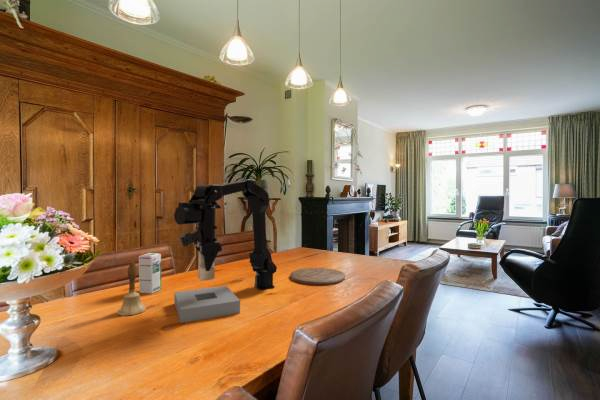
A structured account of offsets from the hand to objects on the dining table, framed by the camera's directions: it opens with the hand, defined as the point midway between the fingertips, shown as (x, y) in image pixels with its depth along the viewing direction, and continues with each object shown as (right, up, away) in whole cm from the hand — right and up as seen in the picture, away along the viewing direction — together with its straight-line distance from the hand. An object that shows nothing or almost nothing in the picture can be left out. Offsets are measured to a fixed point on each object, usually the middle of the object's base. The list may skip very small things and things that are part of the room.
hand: (206, 269), depth 104 cm
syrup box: (-27, -13, +18) cm, 35 cm away
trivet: (+39, -13, +40) cm, 57 cm away
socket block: (0, -13, 0) cm, 13 cm away
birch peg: (0, -3, 0) cm, 3 cm away
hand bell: (-23, -13, -3) cm, 27 cm away
